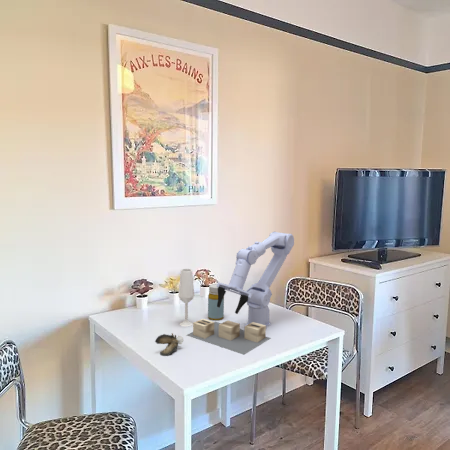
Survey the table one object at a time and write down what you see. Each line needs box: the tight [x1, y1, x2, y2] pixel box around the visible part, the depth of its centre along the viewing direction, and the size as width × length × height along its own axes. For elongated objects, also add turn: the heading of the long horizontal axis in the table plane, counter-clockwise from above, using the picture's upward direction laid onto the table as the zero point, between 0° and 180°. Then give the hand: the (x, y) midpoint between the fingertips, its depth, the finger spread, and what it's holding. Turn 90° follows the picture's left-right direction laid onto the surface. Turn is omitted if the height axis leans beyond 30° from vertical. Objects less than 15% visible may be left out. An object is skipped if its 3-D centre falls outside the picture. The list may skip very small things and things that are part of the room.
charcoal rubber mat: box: [186, 321, 272, 355], centre depth 166 cm, size 19×28×1 cm
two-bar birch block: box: [192, 318, 215, 339], centre depth 168 cm, size 6×6×5 cm
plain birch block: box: [219, 319, 241, 340], centre depth 166 cm, size 6×6×5 cm
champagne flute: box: [178, 268, 195, 328], centre depth 178 cm, size 7×7×24 cm
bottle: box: [207, 283, 225, 321], centre depth 186 cm, size 7×7×15 cm
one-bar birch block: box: [244, 322, 267, 342], centre depth 165 cm, size 6×6×5 cm
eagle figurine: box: [154, 332, 184, 357], centre depth 153 cm, size 8×7×9 cm
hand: (227, 310), depth 163 cm, fingers open, 7 cm apart
